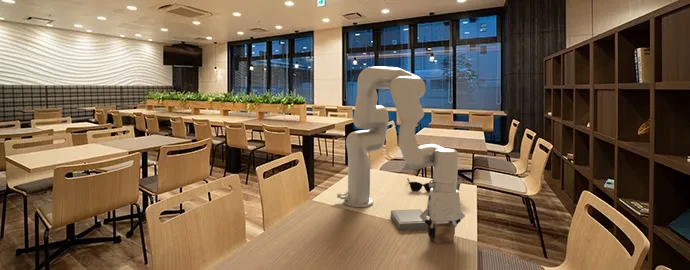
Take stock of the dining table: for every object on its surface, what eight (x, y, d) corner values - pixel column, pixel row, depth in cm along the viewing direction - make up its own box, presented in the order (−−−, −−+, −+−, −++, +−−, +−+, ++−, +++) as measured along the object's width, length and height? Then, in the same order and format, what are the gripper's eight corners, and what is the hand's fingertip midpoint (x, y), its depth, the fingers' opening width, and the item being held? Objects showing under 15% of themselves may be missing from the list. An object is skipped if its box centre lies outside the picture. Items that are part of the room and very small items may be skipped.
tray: (399, 230, 117) (399, 223, 116) (390, 216, 129) (390, 209, 128) (431, 228, 119) (432, 221, 118) (419, 215, 130) (420, 208, 130)
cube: (436, 244, 107) (437, 226, 106) (429, 235, 113) (430, 219, 112) (453, 243, 108) (454, 226, 107) (445, 234, 114) (446, 218, 113)
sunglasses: (408, 191, 159) (408, 181, 158) (406, 183, 175) (406, 174, 174) (437, 193, 157) (438, 183, 157) (432, 184, 173) (432, 175, 172)
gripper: (423, 190, 103) (420, 244, 106) (474, 188, 105) (470, 241, 108) (415, 183, 110) (412, 233, 113) (463, 181, 112) (459, 231, 115)
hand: (441, 236), depth 111 cm, fingers closed on cube, 6 cm apart
